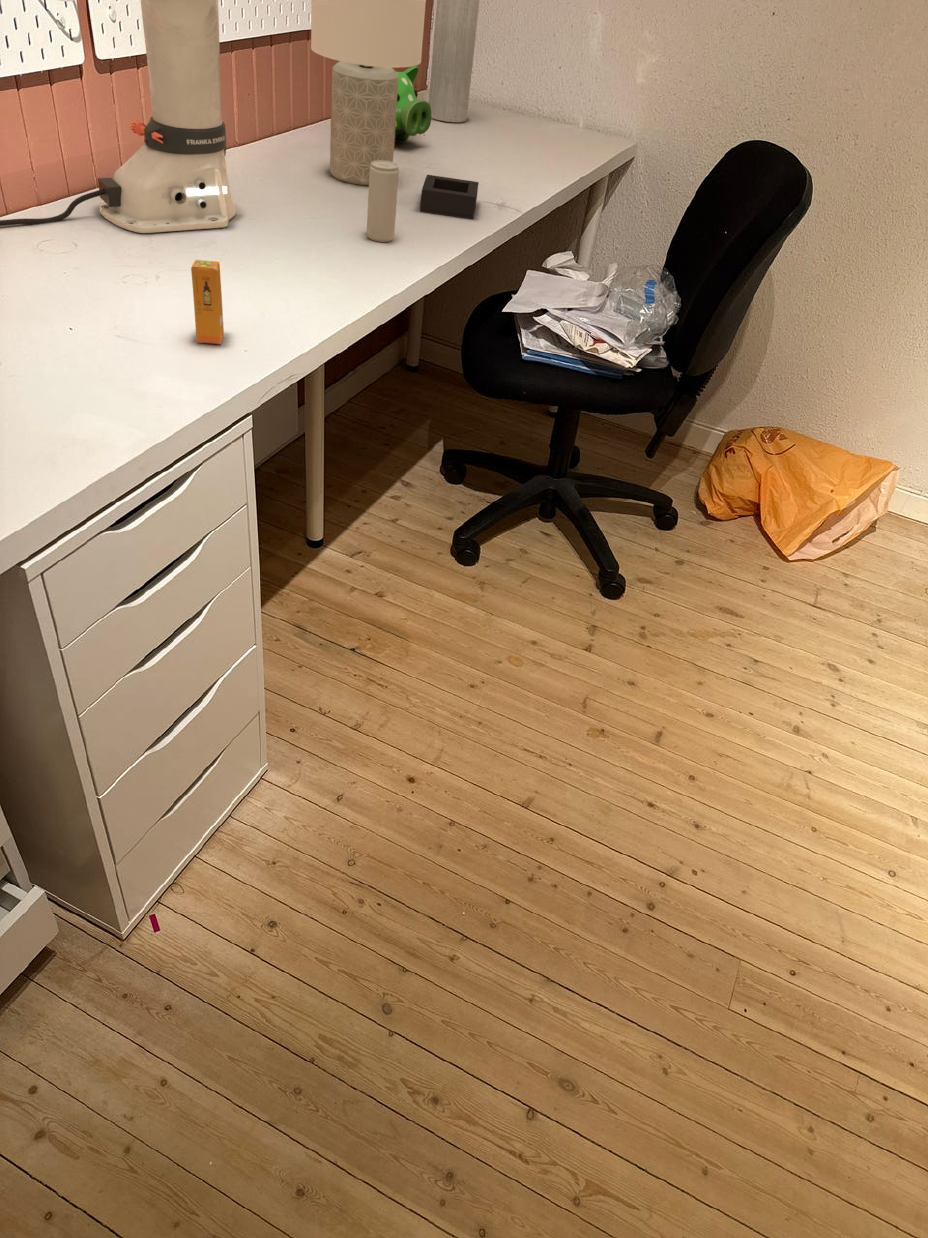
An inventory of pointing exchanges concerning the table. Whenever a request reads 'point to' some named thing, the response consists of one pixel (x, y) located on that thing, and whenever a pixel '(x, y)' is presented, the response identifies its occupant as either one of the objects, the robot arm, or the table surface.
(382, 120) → the lamp
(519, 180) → the table surface
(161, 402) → the table surface
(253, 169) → the table surface
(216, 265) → the supplement box
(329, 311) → the table surface
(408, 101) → the piggy bank
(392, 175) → the beverage can
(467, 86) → the vase
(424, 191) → the box socket
